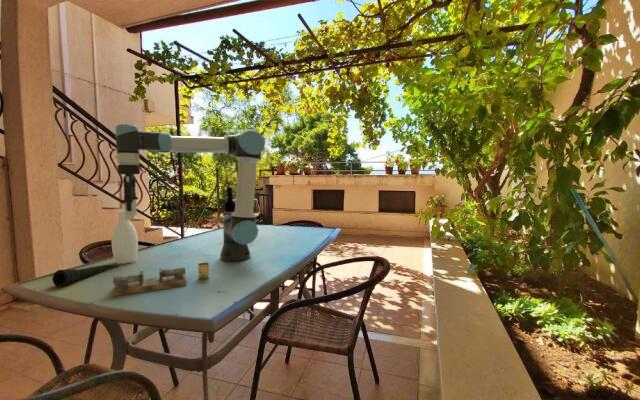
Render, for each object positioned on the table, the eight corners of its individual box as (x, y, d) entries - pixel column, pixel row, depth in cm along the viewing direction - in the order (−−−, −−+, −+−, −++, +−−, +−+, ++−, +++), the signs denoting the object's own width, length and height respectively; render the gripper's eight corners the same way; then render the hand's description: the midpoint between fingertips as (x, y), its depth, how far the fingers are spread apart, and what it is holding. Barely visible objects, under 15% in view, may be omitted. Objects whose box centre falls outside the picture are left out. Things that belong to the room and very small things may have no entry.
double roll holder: (184, 278, 125) (184, 264, 125) (186, 285, 117) (186, 270, 117) (115, 288, 114) (115, 272, 113) (112, 296, 106) (111, 279, 105)
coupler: (208, 276, 128) (207, 260, 128) (209, 279, 125) (209, 263, 124) (198, 277, 126) (197, 261, 126) (199, 280, 123) (198, 264, 122)
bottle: (133, 257, 157) (131, 209, 155) (142, 260, 151) (140, 210, 149) (108, 262, 148) (106, 211, 146) (117, 266, 142) (115, 212, 140)
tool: (64, 288, 114) (64, 271, 113) (51, 287, 115) (50, 270, 114) (126, 267, 140) (125, 253, 140) (114, 266, 142) (114, 252, 141)
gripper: (121, 165, 128) (124, 214, 130) (112, 163, 106) (116, 222, 108) (141, 165, 132) (143, 213, 134) (137, 163, 110) (140, 220, 112)
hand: (131, 217), depth 121 cm, fingers open, 13 cm apart
